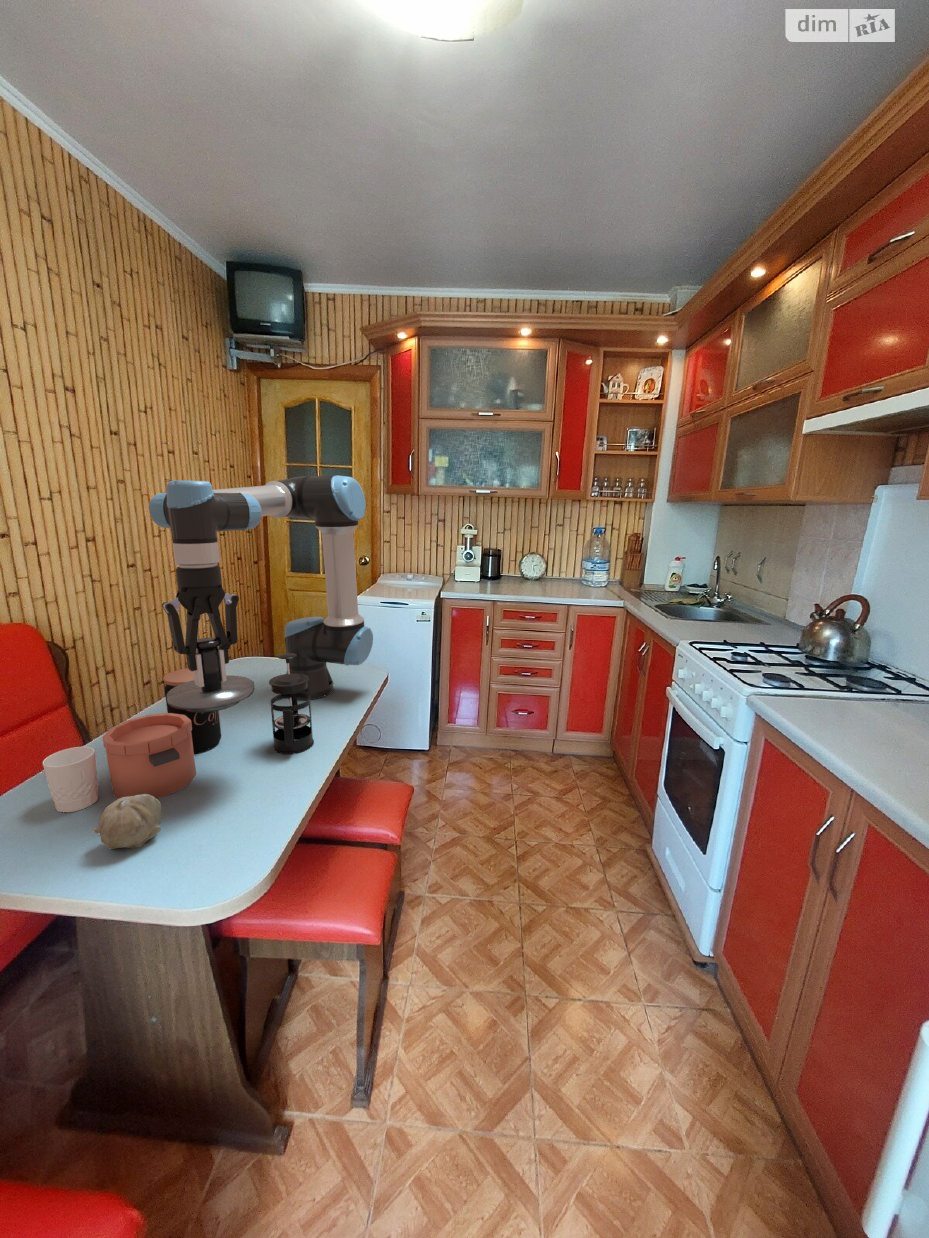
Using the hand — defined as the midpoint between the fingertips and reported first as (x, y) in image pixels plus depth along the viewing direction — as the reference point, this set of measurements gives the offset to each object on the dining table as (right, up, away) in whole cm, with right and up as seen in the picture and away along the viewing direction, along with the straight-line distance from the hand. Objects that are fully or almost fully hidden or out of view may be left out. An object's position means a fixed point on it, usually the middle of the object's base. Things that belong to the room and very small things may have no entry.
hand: (210, 682), depth 99 cm
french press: (+9, -18, +22) cm, 30 cm away
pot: (-15, -22, +6) cm, 27 cm away
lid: (0, -4, +1) cm, 4 cm away
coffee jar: (-14, -18, +22) cm, 32 cm away
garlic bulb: (-7, -26, -13) cm, 30 cm away
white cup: (-25, -24, -2) cm, 34 cm away
